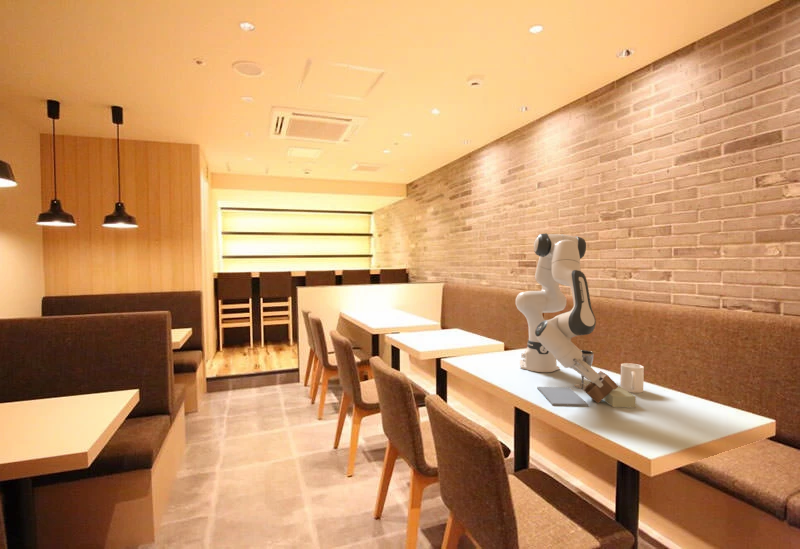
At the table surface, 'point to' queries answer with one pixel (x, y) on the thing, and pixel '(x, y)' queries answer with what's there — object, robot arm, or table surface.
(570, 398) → the mat
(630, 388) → the mug
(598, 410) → the table surface
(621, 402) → the pale olive rectangular block
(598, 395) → the stool
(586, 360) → the wine glass
